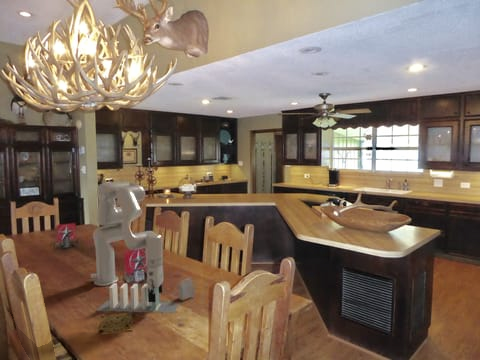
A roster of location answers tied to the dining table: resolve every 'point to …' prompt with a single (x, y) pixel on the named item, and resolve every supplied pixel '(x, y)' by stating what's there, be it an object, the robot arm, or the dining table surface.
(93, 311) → the dining table surface
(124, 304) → the domino
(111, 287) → the domino
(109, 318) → the pastry
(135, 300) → the domino
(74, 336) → the dining table surface
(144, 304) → the domino
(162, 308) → the board
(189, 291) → the grey upright block
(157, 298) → the domino
